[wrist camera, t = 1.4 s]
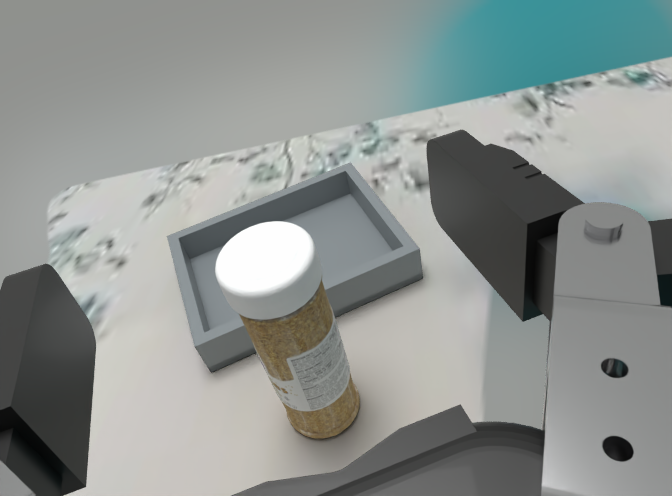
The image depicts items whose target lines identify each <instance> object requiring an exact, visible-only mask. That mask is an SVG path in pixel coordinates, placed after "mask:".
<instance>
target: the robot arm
mask: <svg viewBox="0 0 672 496" xmlns="http://www.w3.org/2000/svg"><path fill="white" fill-rule="evenodd" d="M427 162H428V173H429V184H430V196H431V204H432V208H433V212H434V215H435V217H436V219H437V221H438V223H439V225H440V226H441V228H442V229H443V230H444V231H445V232H446V234H447V235H448V236H449V237H450V238H451V239H452V240H453V242H454V243H455V244H456V245H457V246H458V247H459V249H460V250H461V251H462V252H463V253H464V254H465V256H466V257H467V258H468V259H469V260H470V261H471V262H472V264H473V265H474V266H475V267H476V268H477V269H478V271H479V272H480V273H481V274H482V275H483V276H484V277H485V279H486V280H487V281H488V282H489V283H490V284H491V286H492V287H493V288H494V289H495V290H496V291H497V293H498V294H499V295H500V296H501V297H502V298H503V299H504V300H505V302H506V303H507V304H508V305H509V306H510V308H511V309H512V310H513V311H514V312H515V313H516V314H517V316H518V317H519V318H520V319H521V320H522V321H526V320H529V319H531V318H534V317H536V316H539V315H542V314H544V315H545V316H546V317H547V319H548V320H549V321H550V325H549V337H548V350H547V365H546V378H545V392H544V405H543V419H542V430H540V429H537V428H534V427H531V426H526V425H521V424H516V423H507V422H476V423H472V422H471V421H470V419H469V417H468V416H467V414H466V413H465V411H464V409H463V408H462V406H461V404H460V405H458V406H455V407H453V408H450V409H448V410H445V411H443V412H440V413H438V414H435V415H433V416H430V417H428V418H425V419H423V420H420V421H418V422H415V423H413V424H410V425H408V426H405V427H403V428H400V429H398V430H397V431H396V432H394V433H393V434H391V435H390V436H389V437H387V438H386V439H384V440H383V441H382V442H380V443H379V444H377V445H376V446H375V447H373V448H372V449H370V450H369V451H368V452H366V453H365V454H363V455H362V456H361V457H359V458H358V459H356V460H355V461H354V462H352V463H351V464H349V465H348V466H347V467H345V468H343V469H342V470H339V471H337V472H332V473H325V474H318V475H311V476H304V477H297V478H290V479H283V480H276V481H268V482H265V483H262V484H260V485H257V486H254V487H252V488H249V489H247V490H244V491H242V492H239V493H237V494H234V495H232V496H672V219H666V220H657V221H647V220H646V219H645V218H644V217H643V216H642V215H641V214H640V213H638V212H636V211H635V210H633V209H631V208H628V207H625V206H622V205H618V204H613V203H604V202H594V203H586V204H585V203H583V202H582V201H581V200H579V199H578V198H577V197H575V196H574V195H572V194H571V193H570V192H568V191H567V190H566V189H564V188H563V187H562V186H560V185H559V184H558V183H556V182H555V181H554V180H552V179H551V178H549V177H548V176H547V175H545V174H542V173H541V171H540V170H539V169H537V168H536V167H535V166H533V165H532V164H531V165H529V162H528V161H526V160H525V159H524V158H522V157H521V156H520V155H518V154H517V153H516V152H514V151H512V150H509V149H506V148H503V147H500V146H497V145H494V144H489V145H486V146H484V145H483V144H481V143H480V142H479V141H478V140H476V139H475V138H474V137H472V136H471V135H470V134H469V133H467V132H466V131H465V130H459V131H455V132H452V133H449V134H446V135H443V136H440V137H437V138H434V139H431V140H429V141H428V143H427ZM95 354H96V341H95V336H94V332H93V329H92V326H91V324H90V322H89V320H88V318H87V316H86V315H85V313H84V312H83V310H82V309H81V308H80V306H79V305H78V303H77V302H76V300H75V299H74V297H73V296H72V294H71V293H70V291H69V290H68V288H67V287H66V285H65V284H64V282H63V281H62V279H61V278H60V276H59V275H58V273H57V272H56V271H55V269H54V268H53V267H52V266H50V265H49V264H43V265H40V266H38V267H34V268H31V269H28V270H25V271H22V272H19V273H16V274H13V275H10V276H7V277H6V278H5V279H4V281H3V283H2V287H1V290H0V496H63V495H66V494H69V493H71V492H74V491H76V490H79V489H82V488H84V487H86V479H87V465H88V451H89V437H90V423H91V410H92V396H93V382H94V368H95Z"/></svg>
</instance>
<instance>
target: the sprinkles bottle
mask: <svg viewBox="0 0 672 496" xmlns="http://www.w3.org/2000/svg"><path fill="white" fill-rule="evenodd" d="M215 274H216V278H217V281H218V283H219V285H220V287H221V289H222V292H223V294H224V295H225V297H226V299H227V301H228V303H229V304H230V306H231V307H232V308H233V309H234V310H235V311H236V312H237V313H239V315H240V318H241V320H242V321H243V324H244V325H245V327H246V330H247V332H248V334H249V336H250V338H251V340H252V342H253V345H254V347H255V350H256V352H257V354H258V356H259V358H260V360H261V362H262V364H263V366H264V369H265V371H266V373H267V374H268V376H269V379H270V381H271V383H272V385H273V387H274V389H275V391H276V393H277V395H278V397H279V398H280V399H281V401H282V403H283V405H284V406H285V408H286V411H287V416H288V419H289V421H290V423H291V424H292V426H293V427H294V428H295V429H296V430H297V431H298V432H300V433H301V434H303V435H304V436H307V437H311V438H329V437H332V436H335V435H338V434H339V433H341V432H342V431H343V430H345V429H346V428H347V427H348V426H349V425H350V424H351V423H352V422H353V420H354V419H355V417H356V415H357V413H358V409H359V393H358V390H357V388H356V386H355V384H354V383H353V381H352V378H351V374H350V368H349V363H348V360H347V357H346V353H345V350H344V346H343V343H342V340H341V336H340V333H339V330H338V326H337V323H336V320H335V317H334V313H333V310H332V307H331V305H330V304H329V301H328V298H327V295H326V292H325V288H324V285H323V282H322V267H321V263H320V259H319V256H318V253H317V250H316V247H315V245H314V242H313V240H312V238H311V236H310V235H309V234H308V233H307V232H306V231H305V230H304V229H303V228H301V227H299V226H297V225H295V224H292V223H288V222H282V221H272V222H265V223H260V224H257V225H254V226H251V227H249V228H247V229H245V230H243V231H241V232H240V233H238V234H237V235H235V236H234V237H233V238H231V239H230V240H229V241H228V242H227V243H226V244H225V246H224V247H223V248H222V250H221V252H220V253H219V255H218V258H217V261H216V266H215Z"/></svg>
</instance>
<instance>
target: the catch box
mask: <svg viewBox="0 0 672 496" xmlns="http://www.w3.org/2000/svg"><path fill="white" fill-rule="evenodd" d="M272 221H282V222H288V223H292V224H295V225H297V226H299V227H301V228H303V229H304V230H305V231H306V232H307V233H308V234H309V235H310V236H311V238H312V240H313V242H314V245H315V247H316V250H317V253H318V256H319V259H320V263H321V267H322V282H323V285H324V288H325V292H326V295H327V298H328V301H329V304H330V305H331V307H332V310H333V313H334V317H337V316H339V315H342V314H344V313H346V312H348V311H350V310H353V309H355V308H357V307H359V306H362V305H364V304H366V303H368V302H371V301H373V300H375V299H377V298H380V297H382V296H384V295H386V294H389V293H391V292H393V291H395V290H398V289H400V288H402V287H404V286H407V285H409V284H411V283H413V282H415V281H418V280H420V279H422V278H423V273H422V265H421V256H420V248H419V247H418V246H417V245H416V243H415V242H414V241H413V240H412V238H411V237H410V236H409V235H408V233H407V232H406V231H405V230H404V229H403V227H402V226H401V225H400V224H399V222H398V221H397V220H396V219H395V217H394V216H393V215H392V214H391V212H390V211H389V210H388V209H387V207H386V206H385V205H384V204H383V202H382V201H381V200H380V199H379V197H378V196H377V195H376V194H375V192H374V191H373V190H372V189H371V187H370V186H369V185H368V184H367V182H366V181H365V180H364V179H363V177H362V176H361V175H360V174H359V172H358V171H357V170H356V169H355V167H354V166H353V165H352V164H351V162H350V163H348V164H345V165H343V166H340V167H338V168H335V169H333V170H331V171H328V172H326V173H323V174H321V175H318V176H316V177H313V178H311V179H308V180H306V181H303V182H301V183H298V184H296V185H293V186H291V187H288V188H286V189H283V190H281V191H278V192H276V193H273V194H271V195H268V196H266V197H263V198H261V199H258V200H256V201H253V202H251V203H248V204H246V205H243V206H241V207H238V208H236V209H233V210H231V211H228V212H226V213H223V214H221V215H218V216H216V217H214V218H211V219H209V220H206V221H204V222H201V223H199V224H196V225H194V226H191V227H189V228H186V229H184V230H181V231H179V232H176V233H174V234H171V235H169V236H167V238H168V242H169V246H170V250H171V254H172V258H173V262H174V266H175V270H176V274H177V278H178V282H179V286H180V290H181V294H182V298H183V302H184V306H185V310H186V314H187V318H188V322H189V326H190V330H191V334H192V338H193V342H194V346H195V348H196V350H197V351H198V353H199V354H200V356H201V357H202V359H203V361H204V362H205V364H206V365H207V367H208V368H209V370H210V372H211V373H212V372H214V371H216V370H218V369H220V368H223V367H225V366H227V365H229V364H232V363H234V362H236V361H238V360H241V359H243V358H245V357H247V356H250V355H252V354H254V353H256V350H255V347H254V345H253V342H252V340H251V338H250V336H249V334H248V332H247V330H246V327H245V325H244V324H243V321H242V320H241V318H240V315H239V313H237V312H236V311H235V310H234V309H233V308H232V307H231V306H230V304H229V303H228V301H227V299H226V297H225V295H224V294H223V292H222V289H221V287H220V285H219V283H218V281H217V278H216V274H215V266H216V261H217V258H218V255H219V253H220V252H221V250H222V248H223V247H224V246H225V244H226V243H227V242H228V241H229V240H230V239H231V238H233V237H234V236H235V235H237V234H238V233H240V232H241V231H243V230H245V229H247V228H249V227H251V226H254V225H257V224H260V223H265V222H272Z"/></svg>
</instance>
